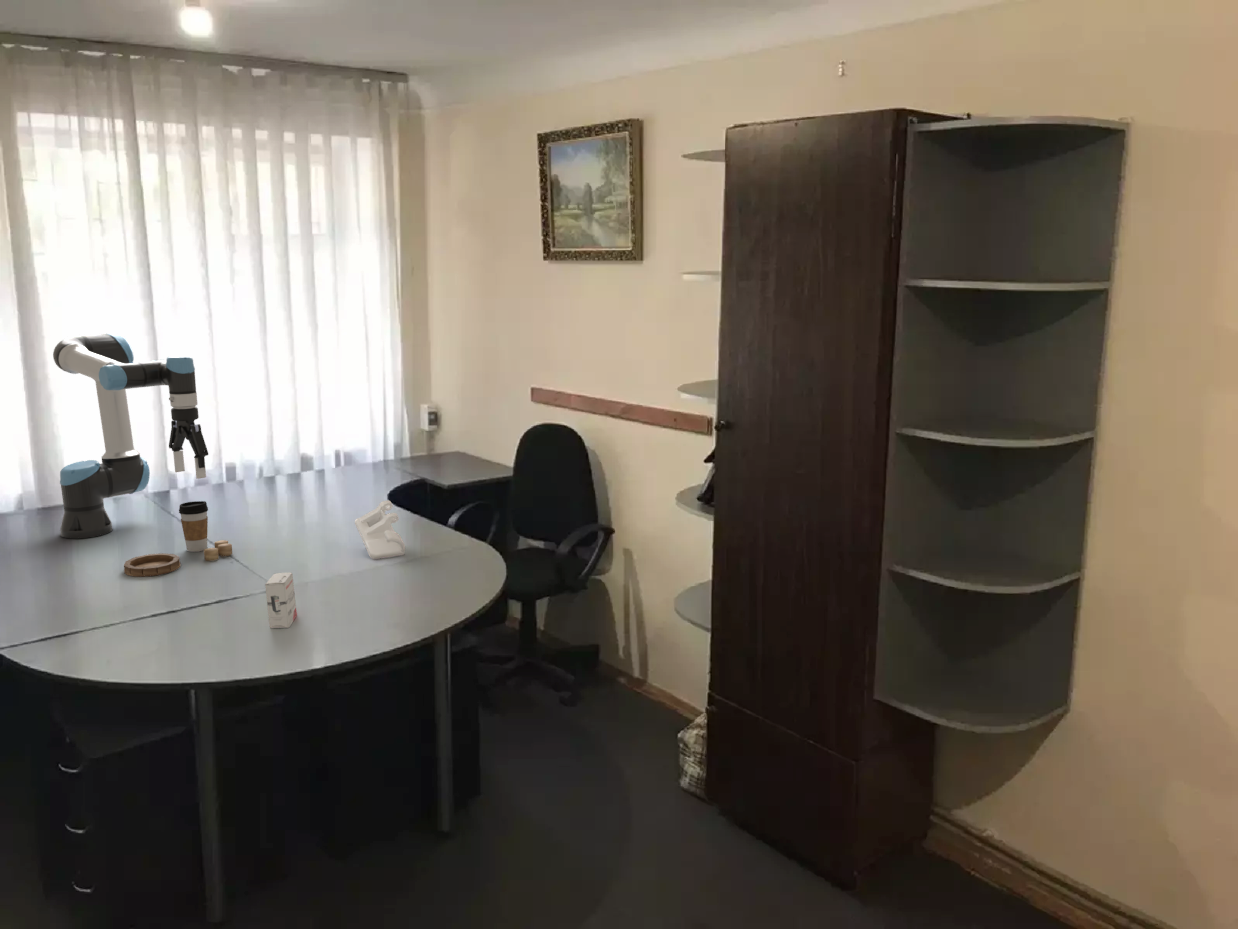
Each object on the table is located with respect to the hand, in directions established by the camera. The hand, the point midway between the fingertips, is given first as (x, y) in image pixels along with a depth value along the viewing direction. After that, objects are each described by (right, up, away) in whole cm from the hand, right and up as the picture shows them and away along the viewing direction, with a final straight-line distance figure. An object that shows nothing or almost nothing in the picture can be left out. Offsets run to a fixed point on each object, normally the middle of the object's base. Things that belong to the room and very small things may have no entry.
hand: (190, 474), depth 297 cm
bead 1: (+8, -26, -4) cm, 27 cm away
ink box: (+48, -37, -54) cm, 81 cm away
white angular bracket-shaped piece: (+58, -24, +5) cm, 63 cm away
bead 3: (+11, -25, 0) cm, 27 cm away
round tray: (-5, -28, -14) cm, 31 cm away
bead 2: (+9, -24, +3) cm, 26 cm away
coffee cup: (0, -24, +5) cm, 24 cm away
